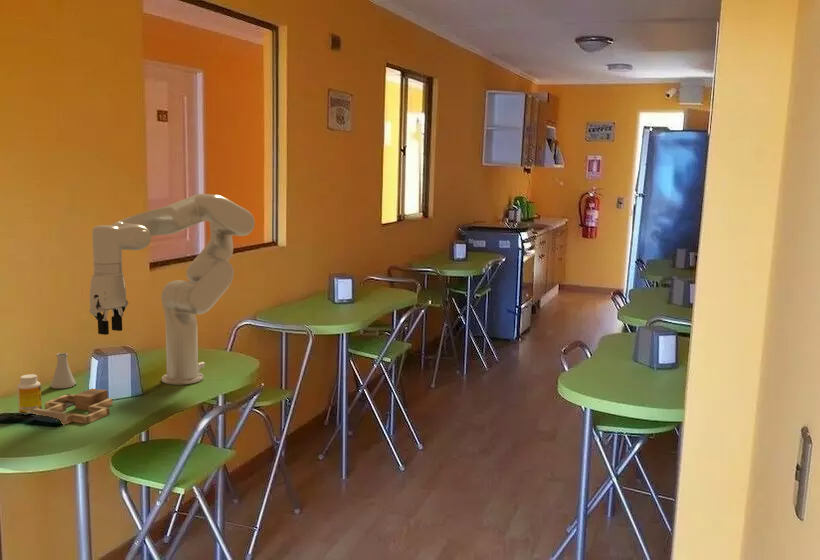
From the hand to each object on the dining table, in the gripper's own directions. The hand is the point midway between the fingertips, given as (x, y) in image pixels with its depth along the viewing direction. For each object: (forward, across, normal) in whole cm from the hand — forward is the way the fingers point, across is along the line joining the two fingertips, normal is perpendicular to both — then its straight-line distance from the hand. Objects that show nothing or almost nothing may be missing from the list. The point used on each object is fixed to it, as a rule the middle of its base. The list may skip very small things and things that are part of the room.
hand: (110, 331), depth 211 cm
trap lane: (+19, +15, 0) cm, 25 cm away
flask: (+20, -4, -22) cm, 29 cm away
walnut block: (+20, +8, 0) cm, 21 cm away
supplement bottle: (+20, +20, -10) cm, 30 cm away
